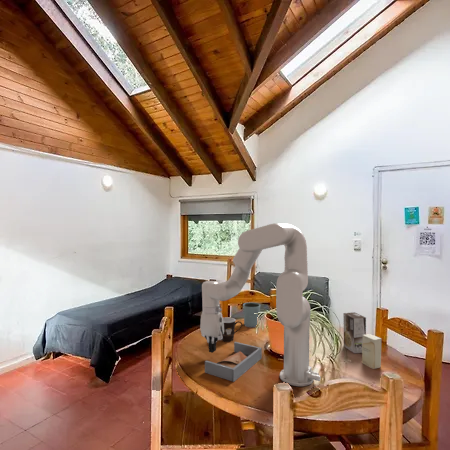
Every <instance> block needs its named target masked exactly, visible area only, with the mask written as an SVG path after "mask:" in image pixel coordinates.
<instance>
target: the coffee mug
mask: <svg viewBox="0 0 450 450" xmlns="http://www.w3.org/2000/svg"><path fill="white" fill-rule="evenodd" d="M236 320H237V319H235V318H233V317H226V316H225V317H223V323H224V334H223V335H222V336H223V339H222V340H221V342H224V343H230V342H233V341H234V339H235V334H236V333H238V332H239V331H240V330H241V329H242V328H243V322H242V321H236ZM238 323H239V324H240V327H239V328H238V329H237V330H235V328H236V325H237V324H238Z"/></svg>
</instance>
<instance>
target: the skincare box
mask: <svg viewBox="0 0 450 450" xmlns="http://www.w3.org/2000/svg"><path fill="white" fill-rule="evenodd" d="M361 355H362V356H361V364H363V365H364V366H366V367H369V368H370V369H373V370H375V369H380V368H381V366H382V338H381V337H379V336H376V335H374V334H371V333H366V334H365V335H363V343H362V353H361Z"/></svg>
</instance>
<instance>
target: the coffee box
mask: <svg viewBox="0 0 450 450" xmlns="http://www.w3.org/2000/svg"><path fill="white" fill-rule="evenodd" d="M365 334H367V317H365V316H364V315H361V314H360V313H357V312H353V311H352V312H344V313H343V347H344V348H346V349H348V351H350V352H351V353H353V354H360V353H361V354H362V343H363V335H365Z"/></svg>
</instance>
